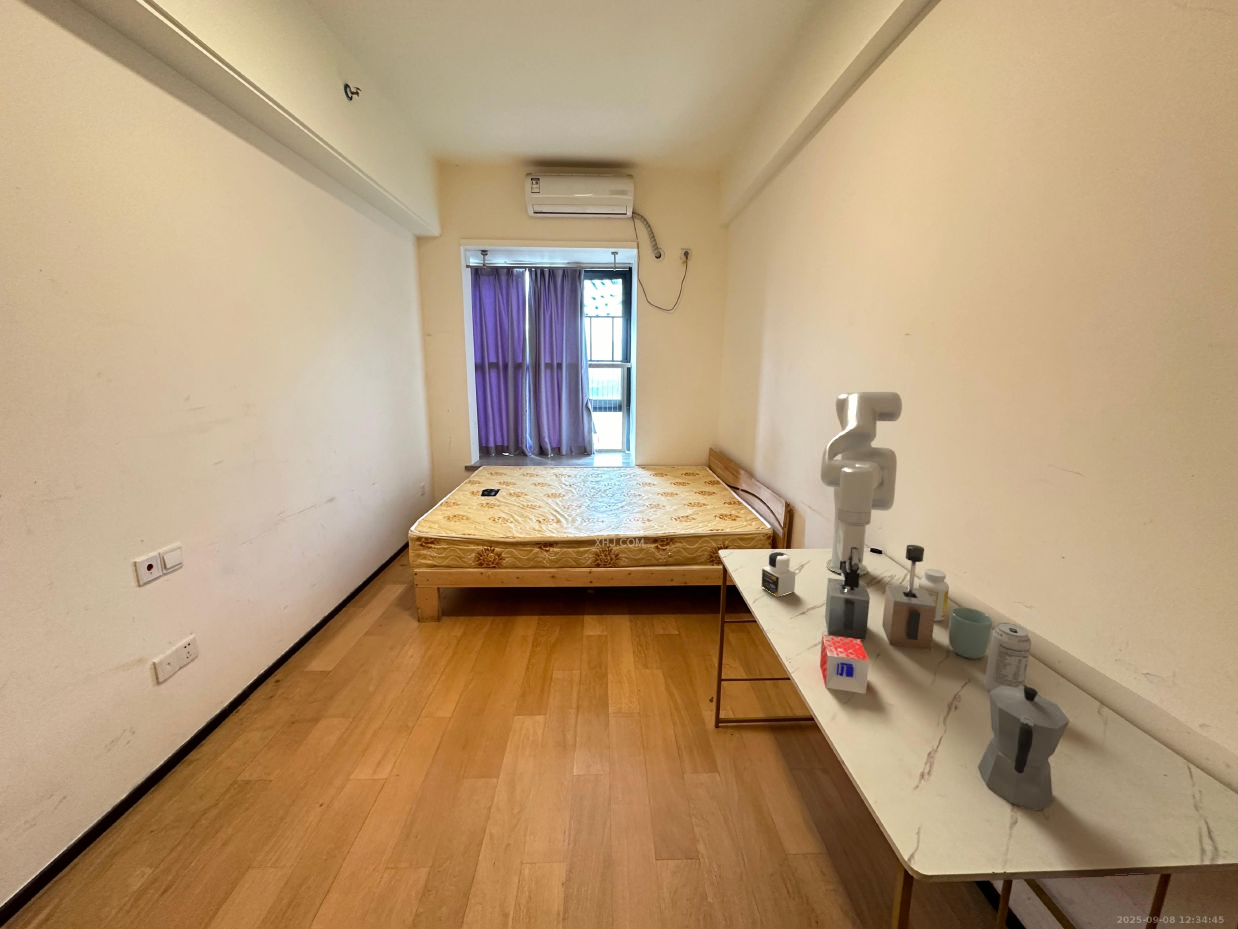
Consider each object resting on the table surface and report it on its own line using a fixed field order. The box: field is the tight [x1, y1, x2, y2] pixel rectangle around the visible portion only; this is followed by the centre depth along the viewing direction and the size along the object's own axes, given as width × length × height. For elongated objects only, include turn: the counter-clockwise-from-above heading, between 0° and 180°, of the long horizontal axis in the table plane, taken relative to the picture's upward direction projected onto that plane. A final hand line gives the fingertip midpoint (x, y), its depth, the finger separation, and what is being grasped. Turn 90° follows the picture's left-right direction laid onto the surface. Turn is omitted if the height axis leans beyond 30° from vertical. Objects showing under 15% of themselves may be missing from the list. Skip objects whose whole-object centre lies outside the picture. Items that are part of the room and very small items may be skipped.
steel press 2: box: [881, 584, 936, 651], centre depth 113 cm, size 10×9×12 cm
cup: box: [947, 606, 994, 659], centre depth 107 cm, size 8×8×10 cm
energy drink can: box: [984, 622, 1032, 693], centre depth 93 cm, size 6×6×15 cm
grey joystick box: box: [824, 577, 871, 641], centre depth 118 cm, size 10×9×12 cm
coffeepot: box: [977, 684, 1070, 811], centre depth 71 cm, size 15×9×18 cm, turn 137°
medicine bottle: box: [761, 551, 797, 597], centre depth 140 cm, size 7×7×12 cm
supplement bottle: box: [918, 568, 950, 622], centre depth 123 cm, size 7×7×13 cm
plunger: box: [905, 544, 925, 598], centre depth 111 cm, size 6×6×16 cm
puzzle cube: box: [819, 634, 870, 695], centre depth 100 cm, size 8×8×8 cm
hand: (848, 578), depth 117 cm, fingers open, 9 cm apart
